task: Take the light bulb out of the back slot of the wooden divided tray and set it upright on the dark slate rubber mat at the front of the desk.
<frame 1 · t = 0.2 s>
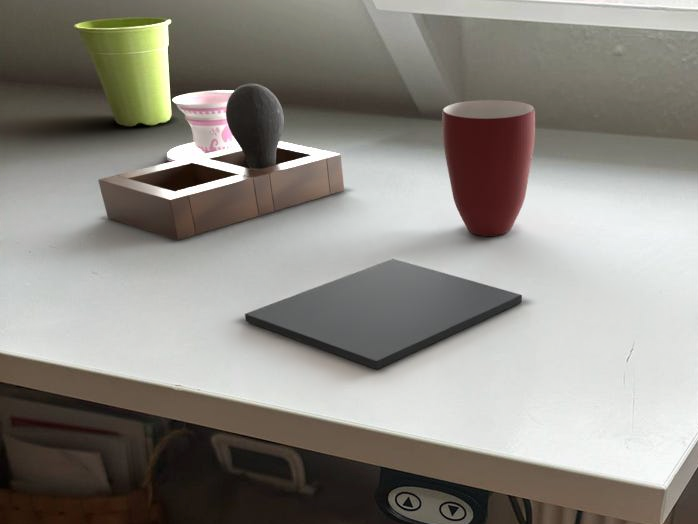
light bulb: (266, 195, 98), resting in wooden divided tray
teacup: (220, 158, 111), on the table
mug: (482, 228, 88), on the table
wooden divided tray: (229, 203, 95), on the table
plant pot: (144, 123, 126), on the table
mat: (386, 311, 72), on the table
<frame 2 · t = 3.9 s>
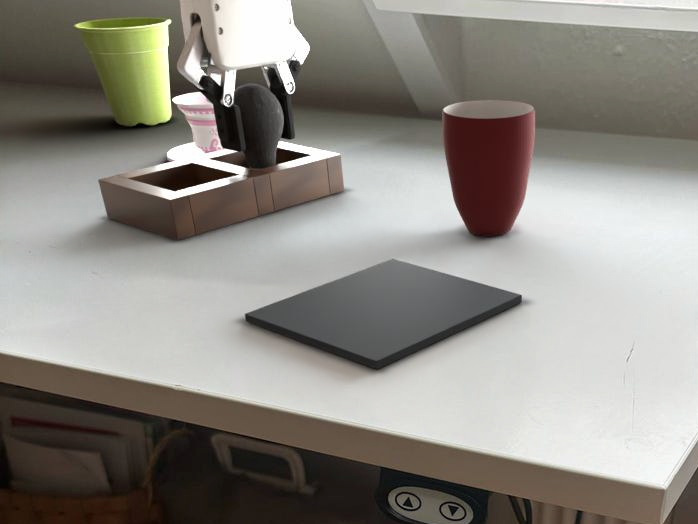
hand: (258, 141, 95), 5 cm above the table, tool pointing down, fingers closed on light bulb, 5 cm apart
light bulb: (266, 195, 98), resting in wooden divided tray, touching gripper
everything else where it was.
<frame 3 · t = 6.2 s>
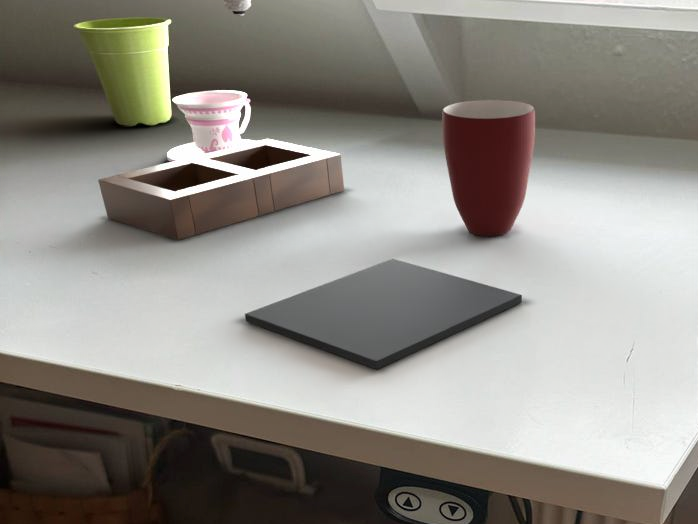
light bulb: (239, 17, 87), point 16 cm above the table, touching gripper
everything else where it was.
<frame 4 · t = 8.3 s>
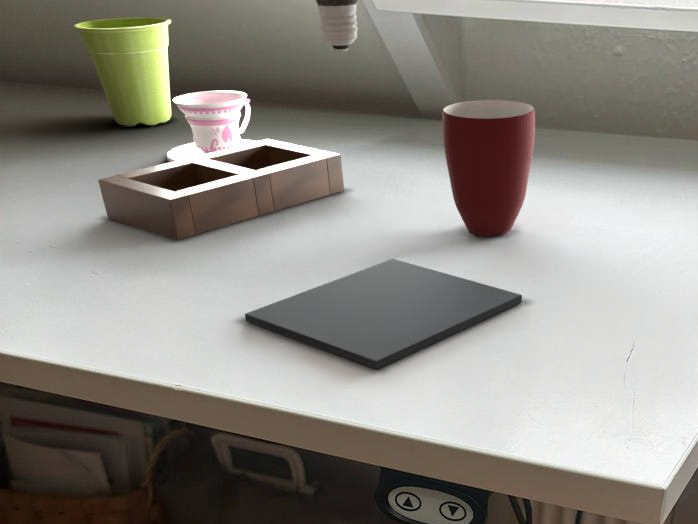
light bulb: (341, 54, 65), point 16 cm above the table, touching gripper
everything else where it was.
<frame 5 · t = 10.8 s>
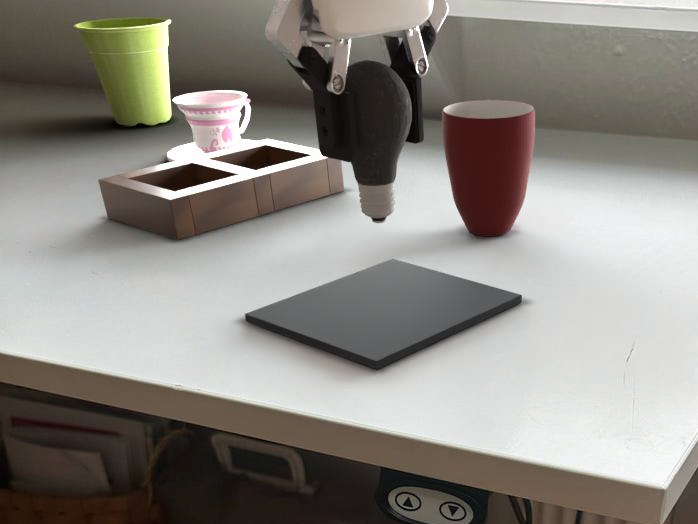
hand: (372, 146, 65), 12 cm above the table, tool pointing down, fingers closed on light bulb, 5 cm apart
light bulb: (379, 224, 68), point 6 cm above the table, touching gripper
everything else where it was.
when the fingers open (6 cm above the table, at t = 12.7 s): light bulb stays where it is, resting on mat.
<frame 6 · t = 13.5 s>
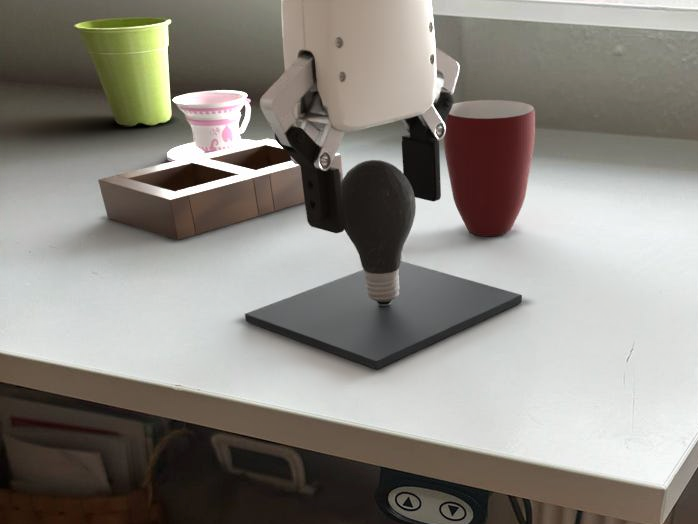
hand: (376, 212, 67), 7 cm above the table, tool pointing down, fingers open, 9 cm apart
light bulb: (384, 306, 72), resting on mat
everything else where it was.
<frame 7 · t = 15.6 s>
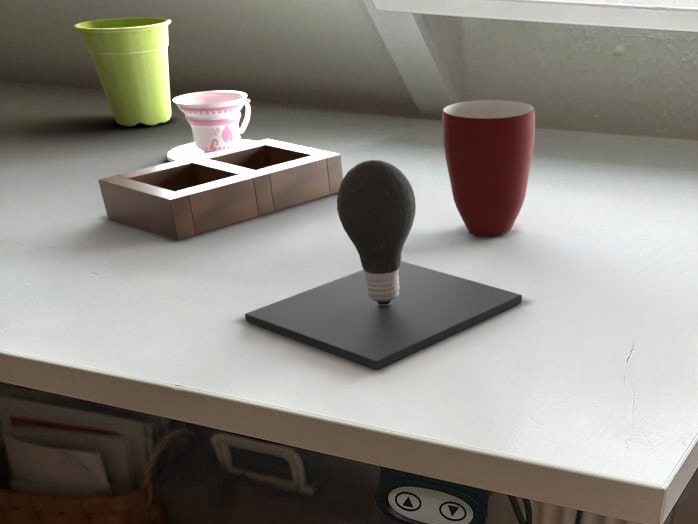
nothing on the table moved.
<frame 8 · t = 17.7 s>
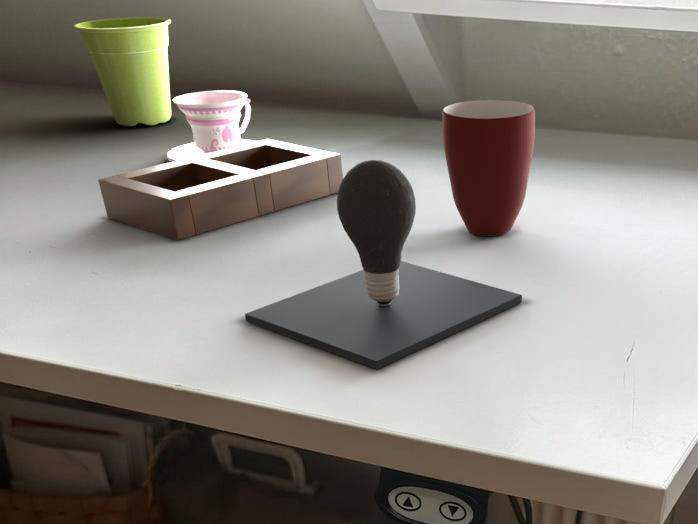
nothing on the table moved.
at the end: light bulb inside the target area on the mat (0.1 cm from its centre), point 0.4 cm above the mat's base; light bulb tilted 0°; the gripper is holding nothing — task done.
